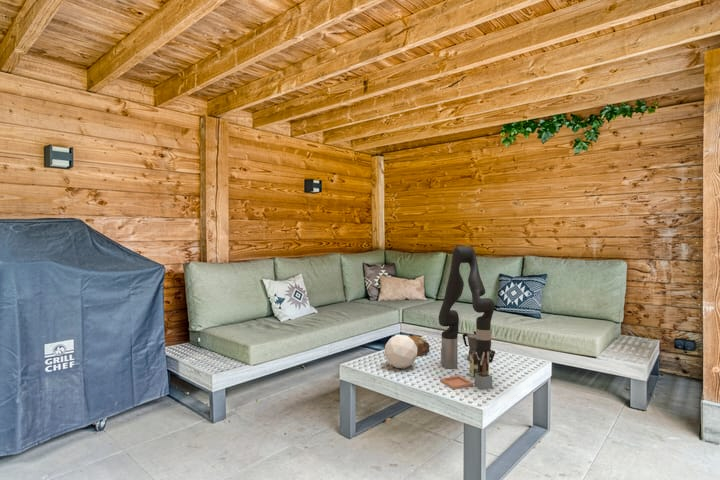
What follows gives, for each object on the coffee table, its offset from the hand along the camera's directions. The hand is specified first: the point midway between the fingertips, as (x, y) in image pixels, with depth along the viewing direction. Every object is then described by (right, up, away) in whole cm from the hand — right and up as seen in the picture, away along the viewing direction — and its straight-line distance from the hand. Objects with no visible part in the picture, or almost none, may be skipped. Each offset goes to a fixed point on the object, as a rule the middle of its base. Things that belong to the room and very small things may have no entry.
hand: (483, 371), depth 211 cm
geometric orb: (-38, -9, +34) cm, 52 cm away
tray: (-13, -9, +5) cm, 16 cm away
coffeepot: (+8, -8, +47) cm, 49 cm away
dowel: (0, -7, 0) cm, 7 cm away
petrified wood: (-25, -8, +64) cm, 69 cm away
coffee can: (+3, -9, +17) cm, 20 cm away
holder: (0, -9, 0) cm, 9 cm away
